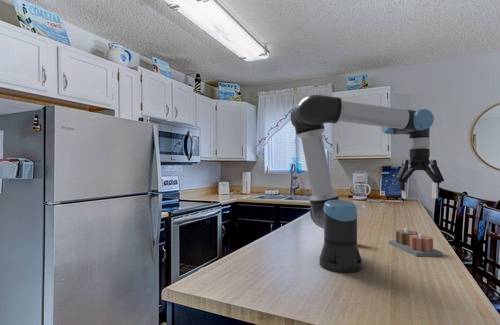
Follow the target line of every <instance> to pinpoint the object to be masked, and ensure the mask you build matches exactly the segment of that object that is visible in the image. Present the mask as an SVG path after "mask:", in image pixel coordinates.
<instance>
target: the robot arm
mask: <svg viewBox="0 0 500 325" xmlns="http://www.w3.org/2000/svg"><path fill="white" fill-rule="evenodd" d="M289 117H290V122H291V125H292V126H293V127H294V129H295V134H296V136H297V137H298V138H300V140H301V145H302V150H303V155H304V160H305V165H306V170H307V174H308V179H309V185H310V189H311V196H310V198H309V203H310V209H309V216H310V218H311V220H312V222H313V223H314V224H315V225H316V226H317V227H318V228H321V229H323V238H324V239H323V241H324V242H323V246H322V249H321V253H320V256H319V261H318V263H319V264H318V265H319V266H320V267H322V268H323V269H325V270H329V271H333V272H338V273H356V272H359V271H361V270H362V269H363V260H362V256H361V253H360V251H359V247H358V208H357V205H356V204H355V203H354V202H352V201H348V200H345V199H339V198H340V197H339V195H338V193H337V192H335V191H334V188H333V183H332V179H331V174H330V170H329V169H330V168H329V163H328V159H327V154H326V150H325V144H324V138H323V135H322V134H323V133H324V131H325V125H324V124H338V123H339V122H343V123H350V124H358V125H359V124H360V125H366V126H374V127H375V126H376V127H381V132H382V133H383V134H385V135H409V136H408V137H409V139H408V140H409V153H408V154H409V159H402V164H401V167H400V169H399V170H398V173H397V175H396V177H395V178H394V180H395V182H398V183H399V190H400V191H401V199H405V200H407V199H408V183H407V181H408V180H409V178H410V177H411V176H412V174H413V173H414V172H415V171H424V172H425V173H426V174H427V176H428V177H429V178H430V179H431V180H432V182H431V198H432V199H439V190H440V183H442V182H444V181H445V179H444V177H443V175H442V172H441V170H440V168H439V166H438V164H437V163H438V162H437V159H430V156H431V155H430V154H431V151H430V147H431V144H430V141H431V140H430V130H431V129H430V128H431V127H432V126H433V124H434V120H435V119H434V118H435V117H434V114H433V112H432V111H431V110H429V109H428V108H427V109H426V108H421V109H417V110H413V109H404V108H397V107H389V106H381V105H375V104H367V103H361V102H352V101H346V100H343V99H342V97H337V96H330V95H323V94H311V95H307V96H306V97H304V98H303V99H301V100H300V101H299V102H298V103H296V104H295V105H294V106H293V108H292V109H291V112H290V116H289ZM409 165H410V166H409ZM429 165H430V166H429Z"/></svg>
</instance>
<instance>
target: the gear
mask: <svg viewBox="0 0 500 325" xmlns="http://www.w3.org/2000/svg"><path fill="white" fill-rule="evenodd" d="M409 247H410V249H412V250H417V251H425V252H430V251H433V249H434V237H432V236H431V235H430V236H429V235H428V236H427V235H425V234H423V238H419V234H418V235H409Z"/></svg>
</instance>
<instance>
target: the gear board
mask: <svg viewBox="0 0 500 325" xmlns="http://www.w3.org/2000/svg"><path fill="white" fill-rule="evenodd" d="M409 235H419V238H423V235H424V234H422V233H421V234H420V233H418V231H414V230H409V228H408V227H405V228H404V229H402V230H401V229H396V230H395V239H394V240H393V239H390V240H389V239H388V244H389V245H391V246H393V247H395V248H398V249H399V250H403V251H404V252H406V253H408V254H411V255H413V256H415V257H437V256H438V257H439V256H440V257H441V256H443V251H440V250H438V249H436V248H433V251H430V252H425V251H417V250H412V249H410V247H409Z"/></svg>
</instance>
